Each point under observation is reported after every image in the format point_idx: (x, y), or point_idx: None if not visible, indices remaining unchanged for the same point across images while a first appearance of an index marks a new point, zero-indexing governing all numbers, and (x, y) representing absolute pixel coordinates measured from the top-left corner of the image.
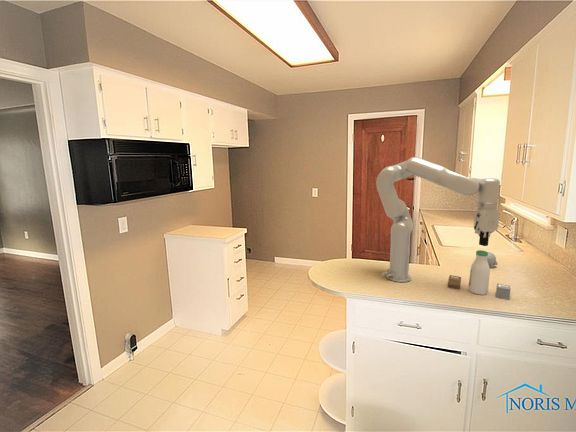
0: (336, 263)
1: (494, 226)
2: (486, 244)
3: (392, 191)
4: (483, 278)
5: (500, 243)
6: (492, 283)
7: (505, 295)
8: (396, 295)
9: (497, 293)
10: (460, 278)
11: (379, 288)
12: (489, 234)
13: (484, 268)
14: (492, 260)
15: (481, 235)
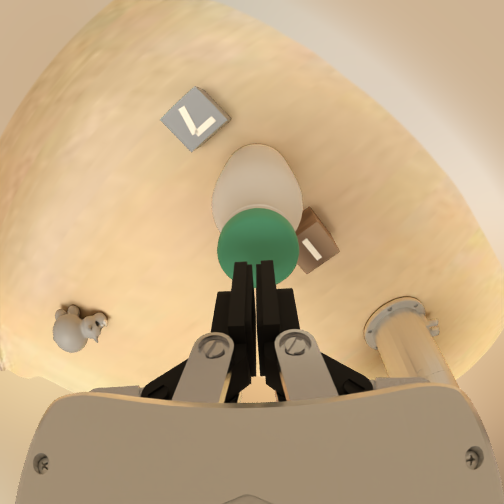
0: None
1: (126, 482)
2: (251, 271)
3: None
4: (274, 156)
5: (17, 371)
6: (144, 217)
7: (209, 97)
8: (477, 236)
9: (227, 116)
10: (298, 236)
11: (473, 279)
12: (203, 364)
13: (274, 170)
14: (67, 319)
15: (334, 367)
